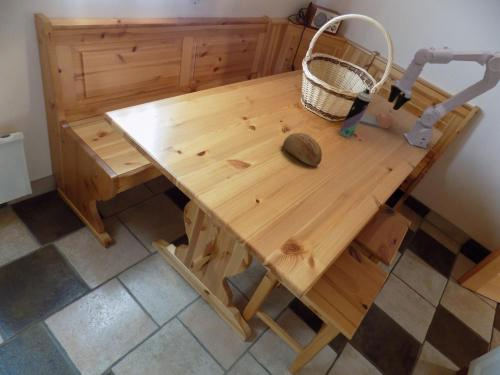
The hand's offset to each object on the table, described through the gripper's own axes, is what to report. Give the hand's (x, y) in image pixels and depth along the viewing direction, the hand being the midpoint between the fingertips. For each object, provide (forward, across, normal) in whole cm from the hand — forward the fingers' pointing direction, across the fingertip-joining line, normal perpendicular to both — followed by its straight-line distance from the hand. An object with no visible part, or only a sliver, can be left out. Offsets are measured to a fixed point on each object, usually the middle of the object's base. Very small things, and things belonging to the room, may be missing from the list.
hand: (392, 105), depth 144 cm
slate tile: (+10, -1, -7) cm, 13 cm away
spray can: (+10, +19, -22) cm, 31 cm away
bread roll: (+11, +44, -44) cm, 64 cm away
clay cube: (+10, 0, 0) cm, 10 cm away
